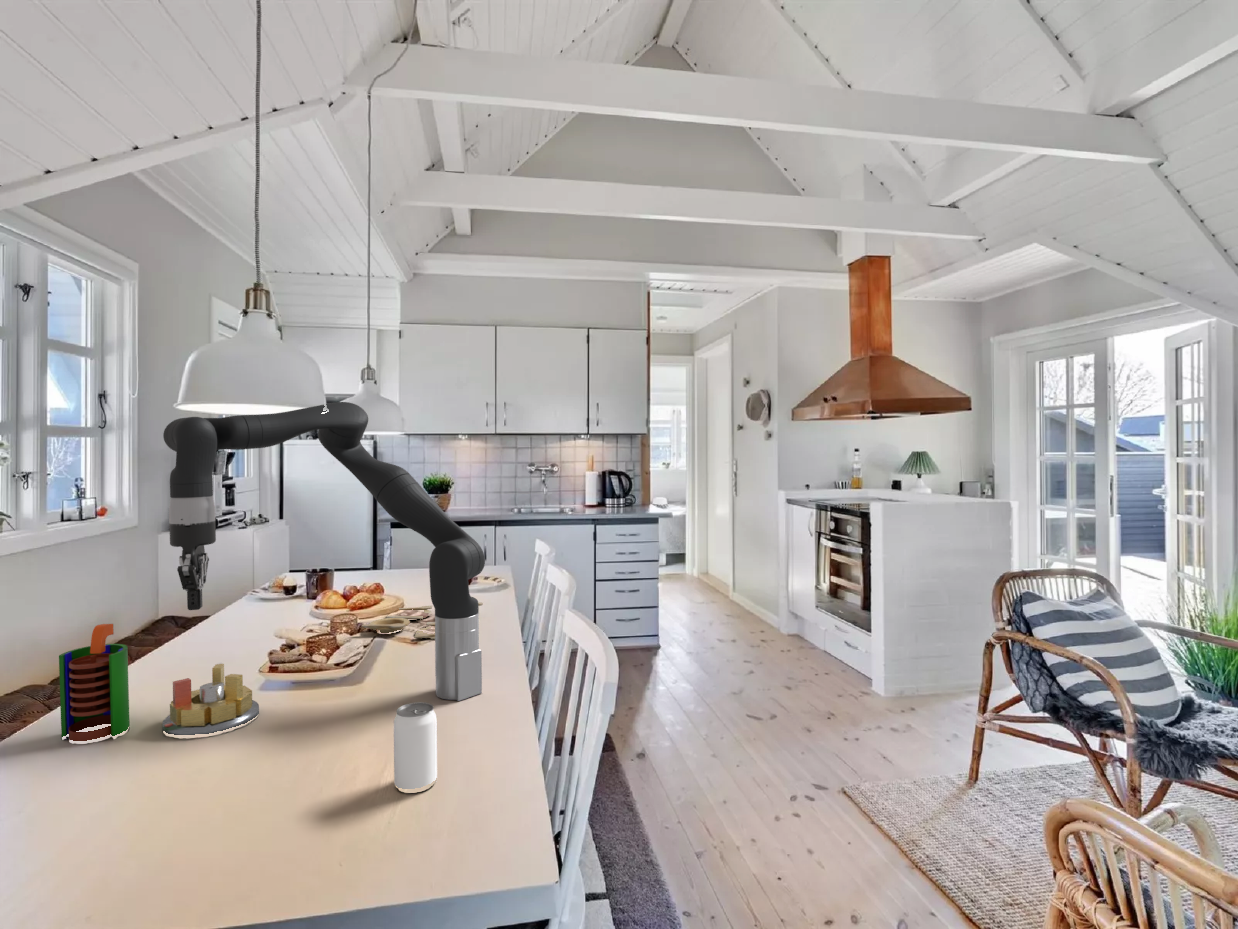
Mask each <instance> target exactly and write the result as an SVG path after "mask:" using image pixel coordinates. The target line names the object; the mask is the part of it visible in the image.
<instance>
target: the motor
mask: <svg viewBox="0 0 1238 929" xmlns="http://www.w3.org/2000/svg"><path fill="white" fill-rule="evenodd" d="M114 634H115V632H114V623H102V624H97V625H95V626H94V628H93V629H92V634H91V639H90V646H89V645H88V646H84V647H78V648H75V649H72V650H67V651H65V652H63V653H61V654H59V655H58V666H59V667H58V669H59V670H58V671H59V672H58V673H59V676H58V677H59V700H60V701H59V702H60V730H61V734H60V735H61V737H63V736H66V735H67V734H69V738H68V740H69V739H70V740H73V741H87V740H92V739H97V738H100V737H105V736H107V735H110V734H111V735H112V736H115V735H117V734H120V733H122V732H123V731H126V730H127V729H128V727H129V726H131V725H130V723H131V722H130V694H129V692H130V691H129V688H130V687H129V661H128V660H129V656H128V645H126V644H124V643H106V641H107V637H108V636H111V635H112V636H113V635H114ZM102 724H111V726H108V727H105V728H102V729H98V730H94V731H88V732H76V731H79V730H82V729H84V728H87V727H94V726H97V725H102Z"/></svg>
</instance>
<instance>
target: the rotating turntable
mask: <svg viewBox="0 0 1238 929" xmlns="http://www.w3.org/2000/svg"><path fill="white" fill-rule="evenodd" d="M224 685H225V682H224V683H222V682H213V683H212V682H208V683H205V684H203V685H201V686H199V689H200V704H210V703H214V702H218V701H222V700H224ZM258 714H259V715H260V705H259V703H258V702H257V701H256V700H253V699H252V707H251V708H250V709H249V710H248V711H246V712H245V713H244V714H242V715H239V716H236V718H233V719H230V720H226V721H223V722H219V723H215V724H210V723H207V724H206V725H205V726H181V724H180V725H176V724H175V723H173V722H172V721H171V720H170V714H169V715H167V716H166V717H165V718H164V719H163V721H162V732H163V731H165V732H166V733H168V734H174V735H195V734H209V733H214V732H217V731H223V730H226V729H229V728H232V727H236V726H239V725H241V724H245V723H247V722H248V721H250V720H252V719H253V718H255V717H256V716H257V715H258Z"/></svg>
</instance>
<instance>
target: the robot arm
mask: <svg viewBox="0 0 1238 929" xmlns="http://www.w3.org/2000/svg"><path fill="white" fill-rule="evenodd" d="M325 404H326V405H327V408H328V409H329V412H327V413H325V414H321V413H322V412H326V411H327V410H326V411H323V408H324V407H325V406H324V404H321V405H314V406H308V407H304V408H300V409H299V408H298V409H295V410H294V409H293V410H290V411H289V410H288V411H281V412H276V413H265V414H264V413H263V414H262V413H261V414H260V413H258V414H242V415H239V414H238V415H231V416H225V417H224V416H223V417H200V416H189V417H181V418H178V419H174V420H172V421H171V422H169V423H168V424H167V425H166V426H165V428H164V430H163V433H162V434H163V441H164V443H165V445H166V446H167V447H168V448H169V449H170V450H172V451H173V452H176V455H175V466H174V467H173V469H172V470H171V471H170V476H169V497H170V499H169V508H168V521H169V522H168V524H169V545H170V546H172V547H173V548H178V547H180V548H182V550H181V555H179V557H178V559H179V560H178V561H179V566H178V567H177V568H176V569H177V573H178V576H179V581H180V583H181V588H182V590H185V592H186V598H187V600H186V602H187V603H186V604H187V610H188V611H197V610H200V609H202V607H203V588H204V586H205V584H206V582H207V574H208V566H209V561H210V558H209V555H208V552H206V551H205V546H207V545H208V546H209V545H212V544H215V542H216V540H217V535H216V534H217V533H216V506H215V500H214V484H213V483H214V481H213V471H214V467H215V462H216V456H217V451H221V450H222V451H223V450H231V451H233V450H235V451H236V450H238V451H239V450H252V449H263V448H270V447H274V446H277V445H280V444H283V443H285V442H287V441H289V440H291V439H294V438H297V437H299V436H301V435H304V434H308V433H309V432H312V431H317V430H318V432H317V438H318V440H319V442H320V444H321V445H322V447H323V448H324V449H325V450H326V451H327V452H328V453H329V454H330V455H331V456H332V457H334V458H335V459H336V460H337V461H338V462H339V463H340V464H342V466H344V467H345V468H346V469H347V470H348V471H349V472H350V473H351V474H352V475H353V476H354V477H355V478H356V479H357V480H358V481H359V482H360V483H361V485H362V486H363V487H365V489H366V490H367V491H368V492H369V493H370V494H371V495H372V496H373V498H374V499H375V501H376V502H378V504H379V505H380V506H381V508H383V509H384V511H385V512H386V513H387V514H388V515H389V516H390V517H391V518H393V519H394V521H395V520H396V521H397V522H398V523H400V524H402V525H403V526H406V527H407V528H408V529H410V530H412V531H413V532H416V533H417V534H419V535H421V536H422V537H423V538H425V539H426V540H427V541H429V542H430V543H431V544H432V545H433V546H434V549H433V550H432V551H431V554H430V556H429V563H428V564H429V565H428V574H429V575H428V576H429V589H430V590H429V591H430V600H431V602H432V603H431V604H432V607H433V608H434V622H435V639H434V648H435V649H434V653H435V655H434V656H435V658H434V659H435V660H434V661H435V662H434V663H435V669H434V670H435V671H434V672H435V695H436V697H437V698H439V699H442V700H451V701H457V702H459V701H464V700H466V699H468V698H471V697H474V696H477V695H480V694H482V690H483V686H482V685H483V682H482V681H483V680H482V679H483V678H482V677H483V676H482V675H483V672H482V667H483V666H482V665H483V664H482V659H483V658H482V656H483V655H482V650H481V649H480V643H479V642H480V635H479V634H480V630H479V629H480V628H479V625H480V624H479V623H480V622H479V619H480V616H479V614H480V613H479V611H480V610H479V609H480V608H479V607H480V606H479V605H478V603H479V601H478V599H477V598H475V597H473V596H471V594H470V586H469V580H470V579H474V578H475V577H477V576H479V575H480V574H481V573H482V571H483V570H484V567H485V563H486V558H485V553H484V551H483V549H482V547H481V546H480V544H479V543H478V542H477V540H475V539H474V538H473V537H472V536H471V535H470V534H469V533H467V532H466V531H465V530H464V529H463V528H461V527H460V526H459V525H458V524H457V523H456V522H455V521H454V520H452V519H451V518H450V517H449V516H448V514H446V512H445V511H443V509H442V508H441V506H439V505H438V503H437V502H436V501H435V500H434V499H433V498H432V497H431V496H430V495H429V494H428V493H427V492H426V491H425V490H424V489H423V487H422V486H421V484H420V483H419V482H418V481H417V480H416V479H415V478H414V477H413V476H412V474H410V473H409V472H408V471H407V470H406V469H405V468H404V467H401V466H398V465H396V464H392V463H389V462H384V461H381V460H378V459H376V458H375V457H373V456H372V455H371V453H369V452H368V450H366V448H365V447H364V446H363V444H362V442H361V440H362V438H363V436H364V433H365V432H366V430H367V426H368V425H369V424H368V423H369V415H368V414H367V412H366V411H365V410H364V408H362V407H361V406H360V405H358V404H356V403H353V402H350V401H349V402H348V401H338V402H329V403H325Z"/></svg>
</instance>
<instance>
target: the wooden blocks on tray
mask: <svg viewBox="0 0 1238 929" xmlns="http://www.w3.org/2000/svg"><path fill="white" fill-rule="evenodd" d="M211 671H212V673H211V674H212V675H211V676H212V682H211V683H213V682H222V683H224V700H222V701H218V702H214V703H210V704H200V688H198V689H196V690H195V689H194V690H192V679H191V678H188V677H187V678H182V679H179V680H175V681H174V680H173V681H172V700H171V701H170V703H169V715H170V720H171V721H172V722H173V723H175V724H176V725H180V724H181V726H205V725H206V724H207V723H210V724H215V723H219V722H223V721H226V720H230V719H233V718H236V716H239V715H242V714H244V713H245V712H246V711H248V710H249V709H250V708H251V707H252V700H253V690H252V689H251V688H249V687H248V686H246V685H243V684H244V682H243V674H237V673H230V674H227V675H225V663H217V664H214V666H213V667H212V668H211Z"/></svg>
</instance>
